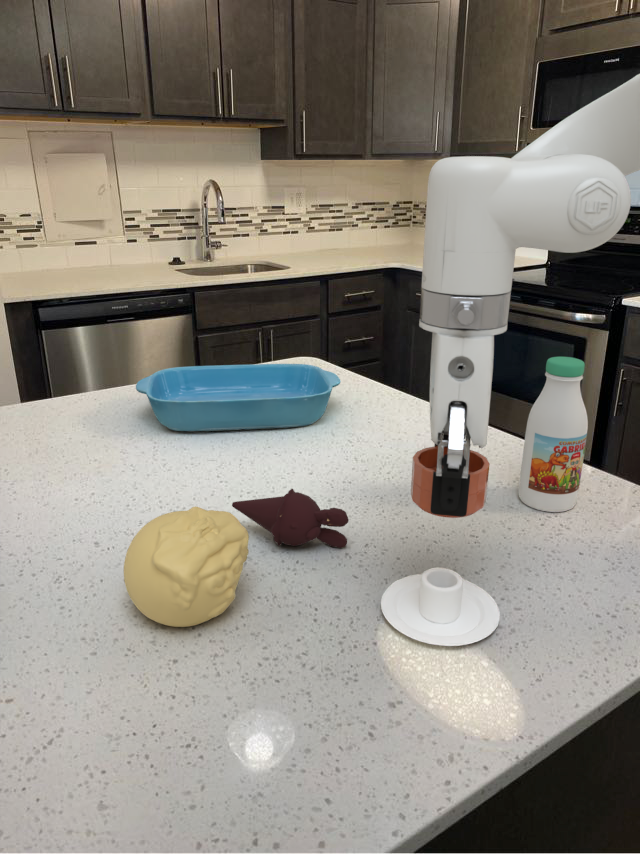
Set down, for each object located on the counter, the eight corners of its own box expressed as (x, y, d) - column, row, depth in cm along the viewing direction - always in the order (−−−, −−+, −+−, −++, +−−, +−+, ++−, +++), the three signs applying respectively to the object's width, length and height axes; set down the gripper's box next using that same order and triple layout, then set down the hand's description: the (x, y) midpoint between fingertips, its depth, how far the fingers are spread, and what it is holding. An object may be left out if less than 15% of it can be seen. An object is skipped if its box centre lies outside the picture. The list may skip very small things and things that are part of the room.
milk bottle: (506, 499, 92) (522, 359, 85) (536, 483, 97) (554, 349, 89) (557, 519, 86) (579, 372, 79) (586, 501, 91) (609, 360, 84)
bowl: (475, 486, 67) (479, 446, 66) (492, 520, 61) (497, 476, 59) (406, 486, 67) (409, 445, 66) (415, 520, 61) (418, 475, 59)
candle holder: (384, 574, 75) (385, 541, 73) (493, 584, 73) (497, 550, 71) (376, 645, 64) (378, 607, 62) (505, 658, 62) (509, 619, 60)
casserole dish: (328, 391, 136) (328, 358, 134) (350, 431, 116) (351, 392, 113) (144, 401, 131) (141, 366, 128) (133, 443, 110) (129, 403, 108)
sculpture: (199, 658, 62) (191, 558, 58) (105, 618, 67) (93, 525, 63) (267, 594, 71) (264, 505, 67) (180, 564, 77) (173, 479, 73)
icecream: (216, 502, 77) (339, 532, 73) (242, 464, 83) (357, 490, 79) (221, 544, 81) (338, 574, 78) (246, 504, 87) (355, 531, 83)
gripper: (518, 335, 49) (493, 545, 55) (501, 295, 65) (483, 461, 71) (415, 330, 50) (403, 536, 56) (423, 292, 66) (413, 455, 72)
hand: (448, 493), depth 64 cm, fingers closed on bowl, 7 cm apart
